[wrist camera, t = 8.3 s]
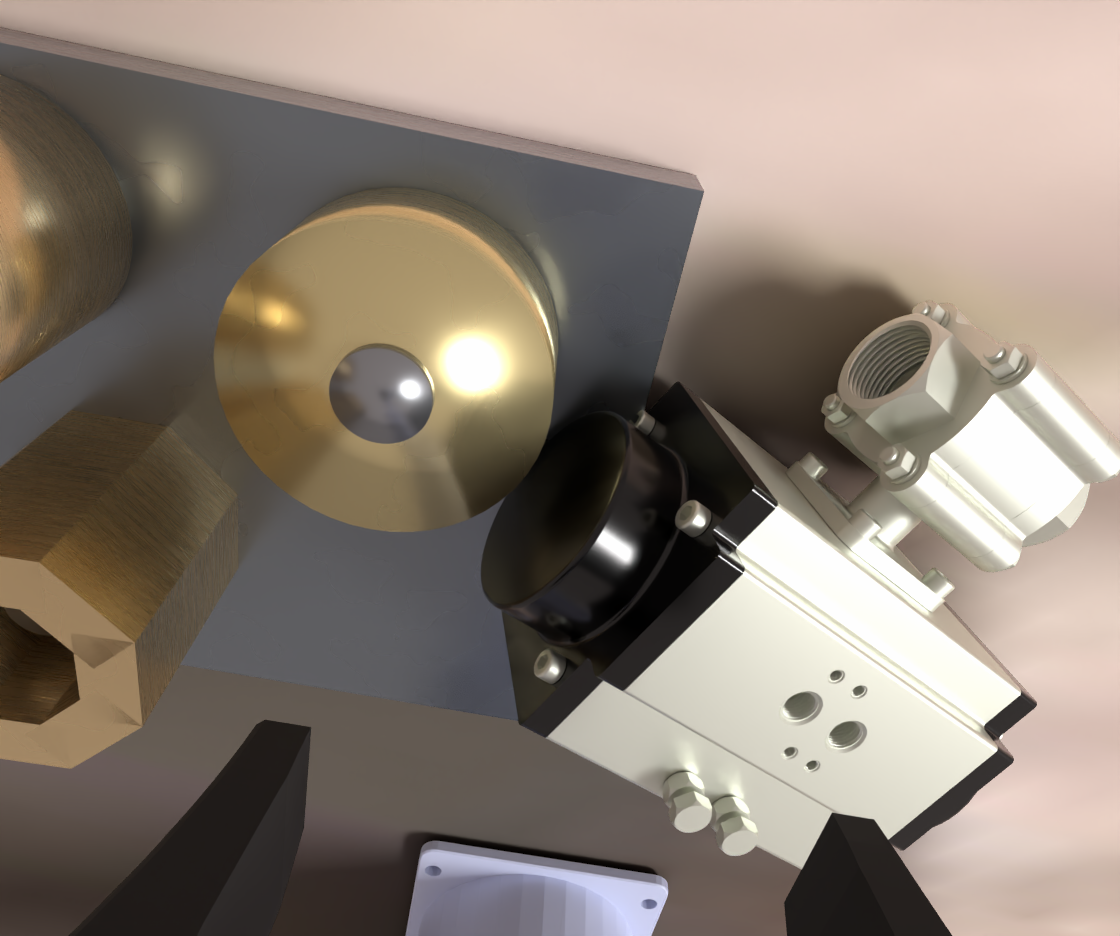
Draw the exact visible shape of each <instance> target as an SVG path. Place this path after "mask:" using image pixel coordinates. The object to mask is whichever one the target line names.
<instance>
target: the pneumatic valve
mask: <svg viewBox="0 0 1120 936" xmlns="http://www.w3.org/2000/svg"><path fill="white" fill-rule="evenodd" d="M821 412H822V413H823V414H824V415H825V416H826V418H825V422H824V425H825V429H826V430H827V432H828V433H830V434H831V435H832V436H833V437H834V438H836V439H837V440H838V441H839V442H840V443H841V444H843V445H844V446H845V447H846V448H847V449H848V450H850V451H851V452H852V453H853V454H854V455H855V456H857V457H858V458H859V459H860V460H861V461H862V462H864V463H865V464H866V465H867V466H868V467H869V468H871V469H872V470H873V471H874V472H875V473H877V474H878V475H879V476H878V477H877V478H875V479H874V480H873V481H872V482H871V483H870V484H869V485H868V486H867V487H866V488H865V489H864V490H863V491H862V492H861V493H860V494H859V495H858V496H857V497H856V498H855V499H854V500H853V501H852V502H851V503H849V502H848V501H846V500H845V499H844V498H843V497H841V496H840V495H839V494H838V493H837V492H835V491H834V490H833V489H832V488H830V487H829V486H828V485H827V484H826V483H824V482H823V481H822V480H821V479H820V478H821V477H822V476H823V475H824V474H825V473H826V472H827V471H828V467H827V466H826V465H825V464H824V463H823V462H822V461H821V460H820V459H819V458H817V457H816V456H815V455H814V454H813V453H811V452H808V453H807V454H806V455H805V456H804V457H803V458H802V459H801V460H800V461H799V462H798V461H796V462H795V463H794V464H793V465H792V466H791V467H790V468H789V469H788V468H786V467H785V466H784V465H783V464H781V463H780V462H779V461H778V460H776V459H775V458H774V457H773V456H771V455H770V454H769V453H768V452H766V451H765V450H764V449H763V448H761V447H760V446H759V445H758V444H756V443H755V442H754V441H753V440H751V439H750V438H749V437H748V436H746V435H745V434H744V433H743V432H741V431H740V430H739V429H738V428H737V427H735V426H734V425H733V424H732V423H730V422H729V421H728V420H727V419H725V418H724V417H723V416H722V415H720V414H719V413H718V412H717V411H715V410H714V409H713V408H712V407H710V406H709V405H708V404H707V403H705V402H704V401H703V400H702V399H700V398H699V397H698V396H697V395H695V394H694V393H693V392H692V391H690V390H689V389H688V388H687V387H685V386H684V385H683V384H682V383H680V382H679V381H678V382H676V383H675V384H674V385H673V386H672V387H671V388H670V389H669V390H668V392H667V393H666V394H665V395H664V396H663V397H662V398H661V399H660V400H659V402H658V403H657V404H656V405H655V406H654V407H653V408H652V409H651V410H650V411H649V413H647V412H645V411H644V410H640V411H639V412H638V413H637V415H639V418H638V420H637V422H636V423H635V424H634V423H633V422H632V421H631V420H630V421H628V420H627V419H625V418H624V417H623V416H621V415H619V414H617V413H615V412H612V411H597V412H593V413H590V414H587V415H585V416H582V417H580V418H578V419H577V420H575V421H573V422H572V423H570V424H569V425H567V426H566V427H565V428H563V429H562V430H561V431H559V432H558V433H557V434H556V435H555V436H553V437H552V438H551V439H550V440H549V441H548V442H547V443H546V444H545V445H544V446H543V447H542V449H541V451H540V453H539V456H538V458H537V460H536V461H535V463H534V464H533V466H532V467H531V469H530V470H529V472H528V474H527V475H526V476H525V477H524V478H523V480H522V481H521V482H520V483H519V484H518V485H517V486H516V488H515V489H514V490H512V491H511V492H510V493H509V494H508V495H507V496H506V497H505V498H504V500H503V502H502V504H501V506H500V508H499V510H498V512H497V514H496V516H495V518H494V521H493V523H492V526H491V528H490V531H489V534H488V537H487V539H486V543H485V547H484V550H483V555H482V561H481V585H482V589H483V592H484V595H485V596H486V598H487V599H488V601H489V602H490V603H491V604H492V605H493V606H494V607H496V608H498V609H499V610H501V611H502V618H503V624H504V631H505V637H506V644H507V650H508V657H509V663H510V670H511V676H512V683H513V689H514V696H515V702H516V709H517V715H518V722H519V724H520V725H521V726H523V727H525V728H527V729H529V730H531V731H533V732H535V733H537V734H539V735H541V736H543V737H545V738H547V739H549V740H551V741H553V742H554V743H556V744H558V745H560V746H562V747H564V748H566V749H568V750H570V751H572V752H574V753H576V754H578V755H580V756H582V757H584V758H586V759H588V760H590V761H591V762H593V763H595V764H597V765H599V766H601V767H603V768H605V769H607V770H609V771H611V772H613V773H615V774H617V775H619V776H621V777H623V778H625V779H626V780H628V781H630V782H632V783H634V784H636V785H638V786H640V787H642V788H644V789H646V790H648V791H650V792H652V793H654V794H656V795H658V796H660V797H661V798H663V799H664V802H665V804H666V805H667V806H668V807H669V808H670V810H669V813H668V815H669V818H670V821H671V823H672V824H673V825H674V826H675V827H676V828H677V829H678V830H680V831H682V832H686V833H690V832H696V831H699V830H701V829H703V828H704V827H705V826H707V825H708V823H709V822H710V825H711V827H712V828H713V829H714V830H715V831H716V832H717V834H716V837H715V839H716V841H717V844H718V847H719V848H720V849H721V850H722V851H723V852H724V853H726V854H728V855H731V856H739V855H743V854H746V853H748V852H749V851H751V850H752V849H753V848H754V847H755V846H757V847H759V848H761V849H763V850H765V851H767V852H768V853H770V854H772V855H774V856H776V857H778V858H780V859H782V860H784V861H786V862H788V863H790V864H792V865H794V866H796V867H798V868H800V869H802V868H803V866H804V864H805V862H806V861H807V859H808V857H809V855H810V853H811V851H812V849H813V847H814V845H815V844H816V842H817V840H818V838H819V836H820V834H821V832H822V830H823V828H824V827H825V825H826V823H827V821H828V819H829V817H830V815H831V813H838V814H844V815H850V816H856V817H862V818H869V819H874V820H875V821H876V823H877V824H878V826H879V827H880V829H881V830H882V831H883V833H884V834H885V836H886V837H887V839H888V840H889V842H890V843H891V845H892V846H894V847H896V848H898V849H899V850H905V849H906V848H907V847H909V846H910V845H911V844H912V843H914V842H915V841H916V840H917V839H919V838H920V837H921V836H922V835H924V834H925V833H926V832H927V831H929V830H930V829H931V828H932V827H935V826H937V825H939V824H942V823H943V822H945V821H947V820H949V819H950V818H952V817H953V816H954V815H956V814H957V813H958V812H959V811H960V810H961V809H963V808H964V807H965V806H966V805H967V804H968V803H969V802H970V800H971V799H972V798H973V796H974V795H975V794H976V793H977V791H978V790H980V789H981V788H982V787H983V786H985V785H986V784H987V783H988V782H990V781H991V780H992V779H993V778H995V777H996V776H997V775H998V774H1000V773H1001V772H1002V771H1003V770H1005V769H1006V768H1007V767H1008V766H1010V765H1011V764H1012V763H1013V761H1014V758H1013V756H1012V755H1011V754H1010V752H1009V751H1008V750H1007V749H1006V747H1005V746H1004V745H1003V744H1002V743H1001V741H1000V740H1001V738H1002V737H1003V733H1005V732H1006V731H1007V730H1008V729H1010V728H1011V727H1012V726H1013V725H1014V724H1016V723H1017V722H1018V721H1019V720H1021V719H1022V718H1023V717H1024V716H1025V715H1027V714H1028V713H1029V712H1030V711H1032V710H1033V709H1034V708H1035V707H1036V705H1037V702H1036V701H1035V700H1034V698H1033V697H1032V696H1031V695H1030V694H1029V693H1028V692H1027V691H1026V690H1025V689H1024V687H1023V686H1022V685H1021V684H1020V683H1019V682H1018V681H1017V680H1016V679H1015V678H1014V677H1013V675H1012V674H1011V673H1010V672H1009V671H1008V670H1007V669H1006V668H1005V667H1004V666H1003V664H1002V663H1001V662H1000V661H999V660H998V659H997V658H996V657H995V656H994V655H993V653H992V652H991V651H990V650H989V649H988V648H987V647H986V646H985V645H984V644H983V643H982V641H981V640H980V639H979V638H978V637H977V636H976V635H975V634H974V633H973V632H972V630H971V629H970V628H969V627H968V626H967V625H966V624H965V623H964V622H963V621H962V619H961V618H960V617H959V616H958V615H957V614H956V613H955V612H954V611H953V610H952V608H951V607H950V606H949V605H948V604H947V603H946V602H945V599H944V598H945V597H946V596H947V595H948V594H949V593H950V592H951V591H953V590H954V588H955V586H954V585H953V584H952V583H951V581H950V580H949V579H947V578H946V577H945V576H944V575H943V574H942V573H941V572H940V571H939V570H937V569H936V568H932V569H931V570H930V571H929V572H928V573H927V574H926V575H925V576H923V575H922V574H921V573H920V572H919V571H918V570H917V568H916V567H915V566H914V565H913V564H912V563H911V562H910V561H909V560H908V559H907V558H906V556H905V555H904V554H903V553H902V552H901V551H900V550H899V549H898V548H897V547H896V544H897V543H898V542H900V541H901V540H902V539H903V538H904V537H905V536H906V535H907V534H908V533H909V532H910V531H911V530H912V529H913V528H914V527H916V526H917V525H918V524H919V523H920V522H921V521H923V522H925V523H926V524H927V525H928V526H929V527H930V528H932V529H933V530H934V531H935V532H936V533H938V534H939V535H940V536H941V537H942V538H943V539H945V540H946V541H947V542H948V543H949V544H951V545H952V546H953V547H954V548H955V549H956V550H958V551H959V552H960V553H961V554H962V555H964V556H965V557H966V558H967V559H968V560H969V561H971V562H972V563H973V564H974V565H975V566H977V567H978V568H979V569H980V570H982V571H985V572H998V571H1002V570H1006V569H1009V568H1012V567H1014V566H1015V565H1016V564H1017V562H1018V560H1019V557H1020V554H1021V549H1022V547H1027V546H1032V545H1036V544H1040V543H1043V542H1046V541H1048V540H1051V539H1053V538H1055V537H1057V536H1059V535H1060V534H1062V533H1064V532H1065V531H1066V530H1068V529H1069V528H1070V527H1071V526H1072V525H1073V524H1074V523H1075V521H1076V520H1077V519H1078V517H1079V515H1080V514H1081V512H1082V510H1083V508H1084V506H1085V503H1086V500H1087V496H1088V492H1089V487H1090V483H1094V482H1098V483H1100V482H1104V481H1108V480H1110V479H1113V478H1115V477H1116V476H1117V475H1118V473H1119V471H1120V441H1119V440H1118V439H1117V438H1116V437H1115V436H1114V435H1113V434H1112V433H1111V432H1110V431H1109V430H1108V428H1107V427H1106V426H1105V425H1104V424H1103V423H1102V422H1101V421H1100V420H1099V419H1098V418H1097V416H1096V415H1095V414H1094V413H1093V412H1092V411H1091V410H1090V409H1089V408H1088V407H1087V406H1086V405H1085V403H1084V402H1083V401H1082V400H1081V399H1080V398H1079V397H1078V396H1077V395H1076V394H1075V393H1074V391H1073V390H1072V389H1071V388H1070V387H1069V386H1068V385H1067V384H1066V383H1065V382H1064V381H1063V380H1062V378H1061V377H1060V376H1059V375H1058V374H1057V373H1056V372H1055V371H1054V370H1053V369H1052V368H1051V367H1050V365H1049V364H1048V363H1047V362H1046V361H1045V360H1044V359H1043V358H1042V357H1041V356H1040V355H1039V353H1038V352H1037V351H1036V350H1035V349H1034V348H1033V347H1031V346H1030V345H1026V344H1016V345H1011V344H1010V343H1008V342H1006V341H1002V342H999V343H997V342H996V341H995V340H994V339H993V338H992V337H991V336H989V335H988V334H987V333H985V332H984V331H982V330H980V329H978V328H976V327H974V326H973V325H972V324H971V322H970V321H969V320H968V319H967V318H966V317H965V316H964V315H963V314H962V313H961V312H960V311H959V310H958V309H957V308H956V307H955V306H954V305H953V304H951V303H942V304H936V303H935V302H933V301H931V300H928V301H926V302H921V303H919V304H917V305H916V306H915V307H914V308H913V310H912V314H910V315H905V316H901V317H898V318H895V319H893V320H891V321H889V322H887V323H885V324H883V325H881V326H880V327H878V328H877V329H875V330H874V331H873V332H871V333H870V334H869V335H868V336H866V337H865V338H864V339H863V340H862V341H861V342H860V343H859V344H858V345H857V347H856V348H855V349H854V350H853V352H852V353H851V354H850V356H849V357H848V359H847V360H846V362H845V364H844V366H843V368H842V371H841V374H840V377H839V382H838V387H837V393H834V394H831V395H828V396H827V397H826V398H825V399H824V402H823V406H822V409H821Z"/></svg>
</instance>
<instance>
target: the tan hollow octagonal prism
mask: <svg viewBox="0 0 1120 936" xmlns="http://www.w3.org/2000/svg"><path fill="white" fill-rule="evenodd" d="M238 568H239V559H238V494H237V493H236V492H235V491H234V490H233V489H232V488H231V487H230V486H229V485H228V484H227V483H226V482H225V481H224V480H223V479H222V478H221V477H220V476H219V475H218V474H217V473H216V472H215V471H214V470H212V469H211V468H210V467H209V466H208V465H207V464H206V463H205V462H204V461H203V460H202V459H201V458H200V457H199V456H198V455H197V454H196V453H195V452H194V451H193V450H192V449H191V448H190V447H189V446H188V445H187V444H186V443H185V442H184V441H183V440H182V439H181V438H180V437H179V436H178V435H177V434H176V433H175V432H174V431H173V430H172V429H171V428H170V427H169V426H164V425H158V424H152V423H146V422H140V421H134V420H128V419H122V418H116V417H110V416H104V415H99V414H93V413H87V412H81V411H75V410H70V411H69V412H68V413H67V414H65V415H64V416H63V417H62V418H60V419H59V420H58V421H57V422H55V423H54V424H53V425H51V426H50V427H49V428H48V429H46V430H45V431H44V432H43V433H41V434H40V435H39V436H37V437H36V438H35V439H34V440H32V441H31V442H30V443H29V444H27V445H26V446H25V447H24V448H22V449H21V450H20V451H18V452H17V453H16V454H15V455H13V456H12V457H11V458H10V459H8V460H7V461H6V462H5V463H3V464H2V465H1V466H0V759H7V760H14V761H21V762H28V763H35V764H42V765H49V766H56V767H63V768H70V769H71V768H73V767H75V766H76V765H78V764H80V763H82V762H83V761H85V760H87V759H88V758H90V757H92V756H93V755H95V754H97V753H99V752H100V751H102V750H104V749H105V748H107V747H109V746H110V745H112V744H114V743H115V742H117V741H119V740H121V739H122V738H124V737H126V736H127V735H129V734H131V733H132V732H134V731H136V730H138V729H139V728H141V727H143V725H144V723H145V722H146V720H147V718H148V717H149V715H150V713H151V712H152V710H153V708H154V707H155V705H156V703H157V702H158V700H159V698H160V697H161V695H162V694H163V692H164V690H165V689H166V687H167V685H168V684H169V682H170V680H171V679H172V677H173V675H174V674H175V672H176V670H177V669H178V667H179V665H180V664H181V662H182V660H183V659H184V657H185V655H186V654H187V652H188V651H189V649H190V647H191V646H192V644H193V642H194V641H195V639H196V637H197V636H198V634H199V632H200V631H201V629H202V627H203V626H204V624H205V622H206V621H207V619H208V617H209V616H210V614H211V612H212V611H213V609H214V608H215V606H216V604H217V603H218V601H219V599H220V598H221V596H222V594H223V593H224V591H225V589H226V588H227V586H228V584H229V583H230V581H231V579H232V578H233V576H234V574H235V573H236V571H237V569H238ZM4 607H7V608H14V609H20V610H21V611H22V612H24V613H25V614H26V615H27V616H29V617H30V618H31V619H32V620H33V621H35V622H36V623H37V624H38V625H40V626H41V627H42V628H43V629H45V630H46V631H47V632H48V633H50V634H51V635H52V636H47V635H40V634H36V633H33V632H31V631H28V630H26V629H24V628H23V627H21V626H20V625H18V624H17V623H16V622H15V621H13V620H12V619H11V618H10V616H9V615H8V614H7V612H6V611H5V609H4Z"/></svg>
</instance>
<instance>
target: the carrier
mask: <svg viewBox="0 0 1120 936" xmlns="http://www.w3.org/2000/svg"><path fill="white" fill-rule="evenodd" d="M703 193H704V190H703V188H702V186H701V185H700V183H699V181H698V179H697V177H696V175H692V174H688V173H683V172H678V171H673V170H669V169H664V168H659V167H655V166H650V165H645V164H640V163H636V162H631V161H626V160H622V159H617V158H612V157H608V156H603V155H598V154H593V153H589V152H584V151H579V150H575V149H570V148H565V147H560V146H556V145H551V144H546V143H542V142H537V141H532V140H528V139H523V138H518V137H513V136H509V135H504V134H499V133H495V132H490V131H485V130H480V129H476V128H471V127H466V126H462V125H457V124H452V123H448V122H443V121H438V120H433V119H429V118H424V117H419V116H415V115H410V114H405V113H400V112H396V111H391V110H386V109H382V108H377V107H372V106H368V105H363V104H358V103H353V102H349V101H344V100H339V99H335V98H330V97H325V96H320V95H316V94H311V93H306V92H302V91H297V90H292V89H288V88H283V87H278V86H273V85H269V84H264V83H259V82H255V81H250V80H245V79H240V78H236V77H231V76H226V75H222V74H217V73H212V72H208V71H203V70H198V69H193V68H189V67H184V66H179V65H175V64H170V63H165V62H160V61H156V60H151V59H146V58H142V57H137V56H132V55H128V54H123V53H118V52H113V51H109V50H104V49H99V48H95V47H90V46H85V45H80V44H76V43H71V42H66V41H62V40H57V39H52V38H48V37H43V36H38V35H33V34H29V33H24V32H19V31H15V30H10V29H5V28H0V466H1V465H2V464H3V463H5V462H6V461H7V460H8V459H10V458H11V457H12V456H13V455H15V454H16V453H17V452H18V451H20V450H21V449H22V448H24V447H25V446H26V445H27V444H29V443H30V442H31V441H32V440H34V439H35V438H36V437H37V436H39V435H40V434H41V433H43V432H44V431H45V430H46V429H48V428H49V427H50V426H51V425H53V424H54V423H55V422H57V421H58V420H59V419H60V418H62V417H63V416H64V415H65V414H67V413H68V412H69V411H70V410H75V411H81V412H87V413H93V414H99V415H104V416H110V417H116V418H122V419H128V420H134V421H140V422H146V423H152V424H158V425H164V426H169V427H170V428H171V429H172V430H173V431H174V432H175V433H176V434H177V435H178V436H179V437H180V438H181V439H182V440H183V441H184V442H185V443H186V444H187V445H188V446H189V447H190V448H191V449H192V450H193V451H194V452H195V453H196V454H197V455H198V456H199V457H200V458H201V459H202V460H203V461H204V462H205V463H206V464H207V465H208V466H209V467H210V468H211V469H212V470H214V471H215V472H216V473H217V474H218V475H219V476H220V477H221V478H222V479H223V480H224V481H225V482H226V483H227V484H228V485H229V486H230V487H231V488H232V489H233V490H234V491H235V492H236V493H237V494H238V559H239V568H238V569H237V571H236V573H235V574H234V576H233V578H232V579H231V581H230V583H229V584H228V586H227V588H226V589H225V591H224V593H223V594H222V596H221V598H220V599H219V601H218V603H217V604H216V606H215V608H214V609H213V611H212V612H211V614H210V616H209V617H208V619H207V621H206V622H205V624H204V626H203V627H202V629H201V631H200V632H199V634H198V636H197V637H196V639H195V641H194V642H193V644H192V646H191V647H190V649H189V651H188V652H187V654H186V655H185V657H184V659H183V660H182V662H181V664H180V665H186V666H192V667H198V668H204V669H210V670H216V671H222V672H228V673H234V674H240V675H246V676H252V677H258V678H264V679H270V680H276V681H282V682H288V683H294V684H300V685H306V686H312V687H318V688H324V689H330V690H336V691H342V692H348V693H354V694H360V695H366V696H372V697H378V698H384V699H390V700H396V701H402V702H408V703H414V704H420V705H426V706H432V707H438V708H444V709H450V710H456V711H462V712H468V713H474V714H480V715H486V716H492V717H498V718H504V719H510V720H516V721H518V715H517V709H516V702H515V696H514V689H513V683H512V676H511V670H510V663H509V657H508V650H507V644H506V637H505V631H504V624H503V618H502V611H501V610H499V609H498V608H496V607H494V606H493V605H492V604H491V603H490V602H489V601H488V599H487V598H486V596H485V595H484V592H483V589H482V585H481V561H482V555H483V550H484V547H485V543H486V539H487V537H488V534H489V531H490V528H491V526H492V523H493V521H494V518H495V516H496V514H497V512H498V510H499V508H500V506H501V504H502V502H503V500H504V498H505V497H506V496H507V495H508V494H509V493H510V492H511V491H512V490H514V489H515V488H516V486H517V485H518V484H519V483H520V482H521V481H522V480H523V478H524V477H525V476H526V475H527V474H528V472H529V470H530V469H531V467H532V466H533V464H534V463H535V461H536V460H537V458H538V456H539V453H540V451H541V449H542V447H543V446H544V445H545V444H546V443H547V442H548V441H549V440H550V439H551V438H552V437H553V436H555V435H556V434H557V433H558V432H559V431H561V430H562V429H563V428H565V427H566V426H567V425H569V424H570V423H572V422H573V421H575V420H577V419H578V418H580V417H582V416H585V415H587V414H590V413H593V412H597V411H612V412H615V413H617V414H619V415H621V416H623V417H624V418H625V419H627V420H628V421H630V420H631V421H632V422H633V423H634V424H635V423H636V422H637V420H638V418H639V415H637V413H638V412H639V411H640V410H645V406H646V403H647V399H648V395H649V392H650V388H651V384H652V381H653V377H654V373H655V370H656V366H657V362H658V359H659V355H660V351H661V347H662V344H663V340H664V336H665V333H666V329H667V325H668V322H669V318H670V314H671V311H672V307H673V303H674V300H675V296H676V292H677V289H678V285H679V281H680V278H681V274H682V270H683V267H684V263H685V259H686V256H687V252H688V248H689V245H690V241H691V237H692V234H693V230H694V226H695V223H696V219H697V215H698V211H699V208H700V204H701V200H702V197H703ZM4 609H5V611H6V612H7V614H8V615H9V616H10V618H11V619H12V620H13V621H15V622H16V623H17V624H18V625H20V626H21V627H23V628H24V629H26V630H28V631H31V632H33V633H36V634H40V635H47V636H52V635H51V634H50V633H48V632H47V631H46V630H45V629H43V628H42V627H41V626H40V625H38V624H37V623H36V622H35V621H33V620H32V619H31V618H30V617H29V616H27V615H26V614H25V613H24V612H22V611H21V610H20V609H14V608H7V607H4Z"/></svg>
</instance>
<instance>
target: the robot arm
mask: <svg viewBox="0 0 1120 936" xmlns="http://www.w3.org/2000/svg"><path fill="white" fill-rule="evenodd" d="M310 735H311V727H306V726H300V725H294V724H288V723H282V722H276V721H269V720H264V721H262V722H260V723H258V724H257V725H256V726H255V727H254V729H253V730H252V731H251V733H250V734H249V736H248V737H247V738H246V740H245V741H244V743H243V744H242V745H241V746H240V748H239V749H238V750H237V752H236V753H235V754H234V756H233V757H232V758H231V760H230V761H229V762H228V763H227V765H226V766H225V767H224V768H223V770H222V771H221V772H220V773H219V775H218V776H217V777H216V778H215V780H214V781H213V782H212V783H211V784H210V786H209V787H208V788H207V789H206V790H205V792H204V793H203V794H202V795H201V796H200V797H199V799H198V800H197V801H196V802H195V803H194V805H193V806H192V807H191V808H190V809H189V810H188V811H187V813H186V814H185V815H184V816H183V817H182V818H181V819H180V820H179V822H178V823H177V824H176V825H175V826H174V827H173V828H172V829H171V830H170V832H169V833H168V834H167V835H166V836H165V837H164V838H163V839H162V840H161V842H160V843H159V844H158V845H157V846H156V847H155V848H154V849H153V850H152V852H151V853H150V854H149V855H148V856H147V857H146V858H145V859H144V860H143V861H142V862H141V863H140V865H139V866H138V867H137V868H136V869H135V870H134V871H133V872H132V873H131V874H130V875H129V876H128V877H127V878H126V879H125V880H124V881H123V882H122V883H121V884H120V885H119V886H118V887H117V888H116V889H115V890H114V891H113V892H112V893H111V894H110V895H109V896H108V897H107V898H106V899H105V900H104V901H103V902H102V903H101V904H100V905H99V906H98V907H97V908H96V909H95V910H94V911H93V912H92V913H91V914H90V915H89V916H88V917H87V918H86V919H85V920H84V921H83V922H82V923H81V924H80V925H79V926H78V927H77V928H76V929H75V930H74V931H73V932H72V933H71V934H70V935H69V936H269V934H270V931H271V929H272V926H273V924H274V921H275V919H276V916H277V914H278V911H279V909H280V906H281V903H282V900H283V896H284V893H285V890H286V886H287V883H288V880H289V877H290V873H291V870H292V866H293V863H294V860H295V856H296V853H297V849H298V846H299V842H300V839H301V836H302V832H303V829H304V818H305V805H306V791H307V777H308V763H309V749H310ZM667 896H668V884H667V882H666V880H665V879H664V878H662V877H661V876H658V875H654V874H648V873H642V872H635V871H629V870H622V869H616V868H610V867H603V866H597V865H590V864H584V863H578V862H571V861H565V860H558V859H552V858H546V857H539V856H533V855H526V854H520V853H514V852H507V851H501V850H494V849H488V848H482V847H475V846H469V845H462V844H456V843H450V842H443V841H430V842H427V843H425V844H424V845H423V846H422V848H421V852H420V857H419V863H418V868H417V874H416V879H415V885H414V891H413V896H412V902H411V907H410V913H409V919H408V924H407V930H406V935H405V936H651V935H652V932H653V930H654V927H655V925H656V923H657V920H658V918H659V916H660V913H661V911H662V908H663V906H664V904H665V901H666V899H667ZM784 904H785V916H786V928H787V936H952V935H951V933H950V932H949V930H948V929H947V927H946V926H945V924H944V923H943V921H942V920H941V918H940V917H939V915H938V914H937V912H936V911H935V909H934V908H933V906H932V905H931V904H930V902H929V901H928V899H927V898H926V896H925V895H924V893H923V892H922V890H921V889H920V887H919V886H918V884H917V883H916V881H915V880H914V878H913V877H912V875H911V874H910V872H909V871H908V869H907V867H906V866H905V864H904V863H903V861H902V860H901V858H900V857H899V855H898V854H897V852H896V851H895V849H894V848H893V846H892V845H891V843H890V842H889V840H888V839H887V837H886V836H885V834H884V833H883V831H882V830H881V829H880V827H879V826H878V824H877V823H876V821H875V820H874V819H869V818H862V817H856V816H850V815H844V814H838V813H831V815H830V817H829V819H828V821H827V823H826V825H825V827H824V828H823V830H822V832H821V834H820V836H819V838H818V840H817V842H816V844H815V845H814V847H813V849H812V851H811V853H810V855H809V857H808V859H807V861H806V862H805V864H804V866H803V868H802V870H801V872H800V874H799V876H798V878H797V879H796V881H795V883H794V885H793V887H792V889H791V891H790V893H789V894H788V896H787V898H786V900H785V902H784Z"/></svg>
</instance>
